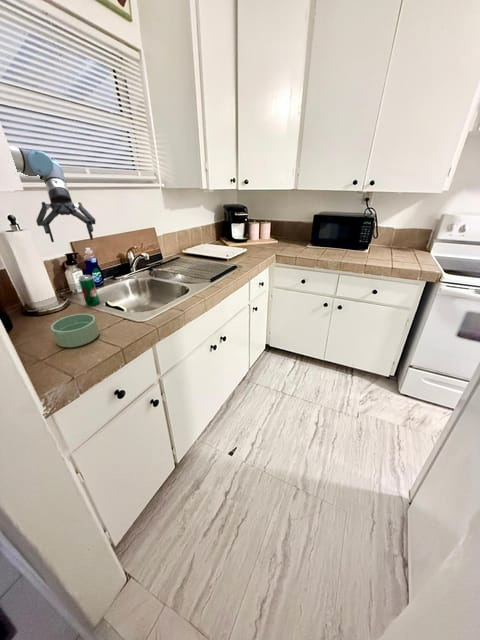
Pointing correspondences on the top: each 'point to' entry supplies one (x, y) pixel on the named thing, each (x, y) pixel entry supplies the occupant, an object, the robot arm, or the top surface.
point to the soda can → (89, 290)
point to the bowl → (75, 330)
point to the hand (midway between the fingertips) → (72, 239)
